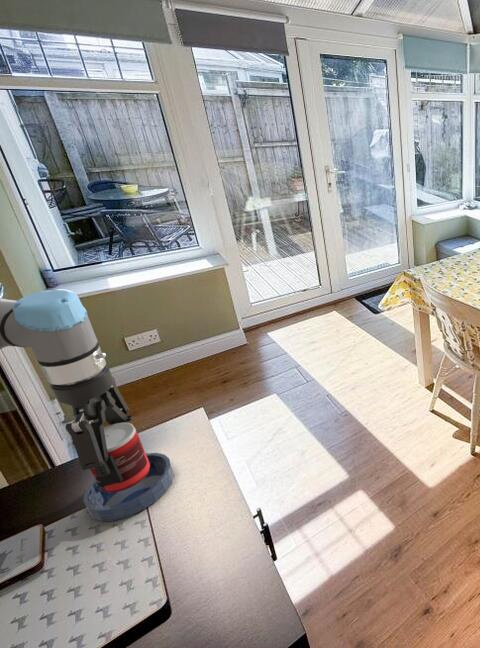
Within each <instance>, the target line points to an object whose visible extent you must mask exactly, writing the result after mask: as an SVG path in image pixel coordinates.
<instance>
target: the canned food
mask: <svg viewBox="0 0 480 648" xmlns="http://www.w3.org/2000/svg"><path fill="white" fill-rule="evenodd" d="M103 428H104V434H105V440H106V446H107V452H108V455H111V454H112V456H113V459H114V461H115V463H116V465H117V467H118V469H119V472H120V474H121V476H122V478H123V480H122V482H120V483H116V484H112V485H108V486H104V487H103V485H102V483H101V481H100V479H99V477H98V475H97V473H96V471H95V469H94V468H91V469H89V470H90V471H91V473H92V476H93V478H94V480H96V482H97V484H98V486H99V487H100V489H102V490H104V491H105V492H110V493H113V492H119V491H123V490H126V489H128V488H131V487H132V486H134V485H136V484H137V483H139V482H140V481H141V480H143V479H144V478H145V477H146V475H147V474H148V472H149V468H150V464H149V461H148V458H147V456H146V451H145V448H144V446H143V444H142V441H141V439H140V436H139V434H138V432H137V429H136V427H135V426H134V424H132V423H129V422H126V423H116V424H112V425H110V424H109V425H105V426H103Z"/></svg>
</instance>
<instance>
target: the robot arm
mask: <svg viewBox="0 0 480 648" xmlns="http://www.w3.org/2000/svg"><path fill="white" fill-rule="evenodd" d="M6 347H17V348H30V349H31V351H32V353H33V355H34V356H35V358H36V360H37V362H38V364H39V366H40V368H41V370H42V372H43V375H44V377H45V379H46V381H47V383H48V384H50V386H49V387H50V389H51V391H52V392H53V395H54V397H55V399H56V400H57V402H58V403H60V404H65V405H68V406H71V408H72V415H73V416H74V420H73V421H72V422H67V423H66V424H65V431H67V433H68V434H69V436H70V437H71V440H72V443H73V446H74V449H75V451H76V455H77V458H78V460H79V463H80V466H81V468H82V471H85V470H90V469H91V468H94V469H95V471H96V473H97V475H98V477H99V479H100V481H101V483H102V485H103V487H104V486H108V485H112V484H116V483H120V482H122V480H123V478H122V476H121V474H120V472H119V469H118V467H117V465H116V463H115V461H114V459H113V456H112V454H111V455H108V452H107V446H106V440H105V434H104V428H103V427H104V423H107V424H109V425H112V424H116V423H129V422H132V421H133V416H132V415H129V414H130V408H129V406H128V404H127V402H126V400H125V399H124V397H123V395H122V394H121V392H120V390H119V388H118V386H117V383H116V379H115V377H114V376H113V374H112V372H111V369H110V367H109V365H107V361H106V357H107V354H106V353H105V352H102V349H101V347H100V344H99V342H98V339H97V336H96V333H95V331H94V328H93V326H92V323H91V320H90V318H89V315H88V311H87V309H86V307H84V306H83V304H82V302H81V300H80V297H79V295H78V294H77V293H76V292H74V291H72V290H68V289H63V288H62V289H59V288H58V289H53V290H49V289H47V290H43V291H37V292H35V293H30V294H28V295H25V296H23V297H21V298H20V299H18V300H16V299H15V300H14V299H7V298H0V350H2V349H4V348H6Z"/></svg>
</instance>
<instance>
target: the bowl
mask: <svg viewBox="0 0 480 648" xmlns="http://www.w3.org/2000/svg"><path fill="white" fill-rule="evenodd" d="M145 453H146V452H145ZM146 456H147V458H148V461H149V464H150V468H149V472H148V474H147V475H146V477H145V478H144V479H143V480H141V481H140V482H139V483H137V484H136V485H134V486H132V487H131V488H128V489H126V490H123V491H119V492H113V493H110V492H105V491H104V490H102V489H100V487H99V486H98V484H97V482H96V480H95V479H93V480H92V482H91V483H90V484H89V485H88V486H87V488H86V490H85V492H84V494H83V505H84V507H85V508H86V511H87V512H88V514H89V515H90V516H91V518H92V519H94V520H96V521H100V522H112V521H113V522H114V521H119V520H122V519H125V518H128V517H131V516H134V515H135V514H137V513H139V512H142V511H144V510H145V509H146V508H149V506H151V505H153V504H154V503H155V502H157V501H158V500H159V499H160V498H161V497H162V496H163V495H165V493H167V491H168V490H169V488H170V487H171V485H172V484H173V482H174V479H175V470H174V466H173V465H172V461H171V459H170V458H169V457H168V456H167V455H166V454H163V453H159V452H147V453H146Z"/></svg>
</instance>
